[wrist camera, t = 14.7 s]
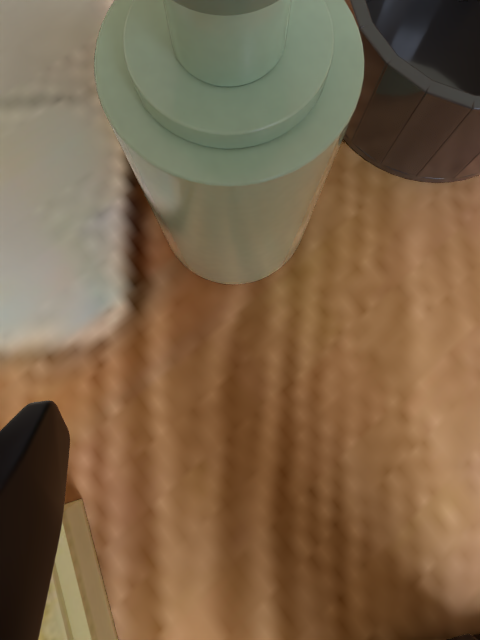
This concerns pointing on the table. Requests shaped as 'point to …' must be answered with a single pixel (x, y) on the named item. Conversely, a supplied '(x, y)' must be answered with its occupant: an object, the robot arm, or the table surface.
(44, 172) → the table surface
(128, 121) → the bottle
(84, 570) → the decorative clock
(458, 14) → the cup
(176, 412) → the table surface
